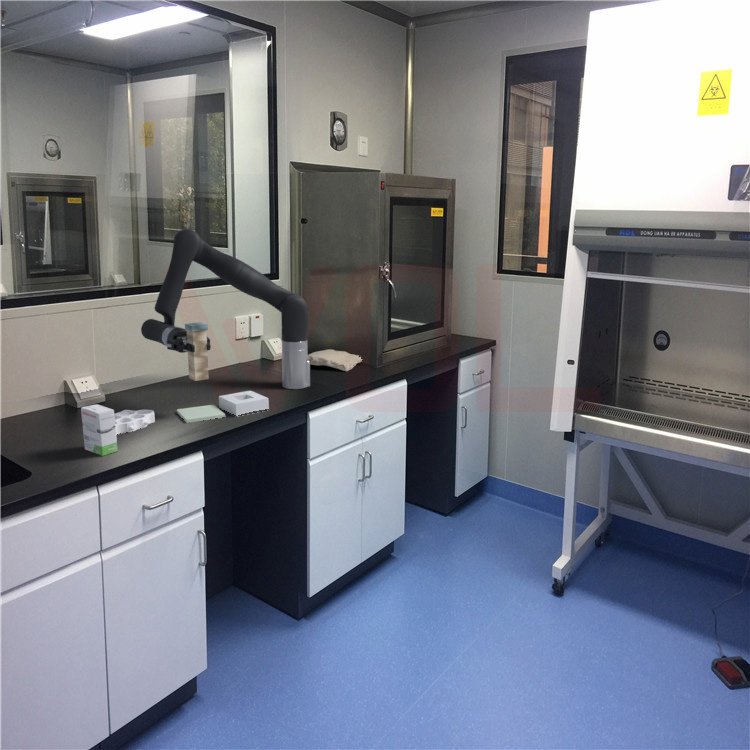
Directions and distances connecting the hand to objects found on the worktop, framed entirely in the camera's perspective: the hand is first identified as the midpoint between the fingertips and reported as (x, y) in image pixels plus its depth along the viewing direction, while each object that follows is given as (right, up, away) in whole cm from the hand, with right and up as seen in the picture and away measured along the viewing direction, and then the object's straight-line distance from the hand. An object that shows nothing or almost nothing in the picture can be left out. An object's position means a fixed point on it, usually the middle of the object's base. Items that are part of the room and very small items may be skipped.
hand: (201, 347), depth 203 cm
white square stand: (+10, -19, +14) cm, 26 cm away
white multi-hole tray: (-22, -24, -4) cm, 33 cm away
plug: (-2, -9, +4) cm, 10 cm away
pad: (-2, -21, +7) cm, 22 cm away
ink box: (-20, -28, -24) cm, 43 cm away
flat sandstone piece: (+33, -5, +76) cm, 82 cm away
